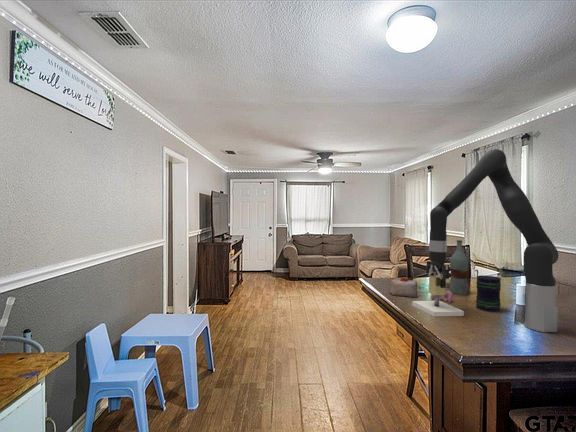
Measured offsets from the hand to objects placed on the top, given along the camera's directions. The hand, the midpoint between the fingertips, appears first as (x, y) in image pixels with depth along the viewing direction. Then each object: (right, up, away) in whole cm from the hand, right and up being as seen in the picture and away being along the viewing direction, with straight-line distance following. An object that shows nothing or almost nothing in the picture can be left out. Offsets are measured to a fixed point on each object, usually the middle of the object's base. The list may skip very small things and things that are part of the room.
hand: (437, 285), depth 152 cm
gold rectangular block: (0, -4, 0) cm, 4 cm away
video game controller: (+11, -12, +18) cm, 24 cm away
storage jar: (+26, -12, +4) cm, 28 cm away
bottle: (+28, -12, +35) cm, 47 cm away
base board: (0, -11, 0) cm, 11 cm away
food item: (-5, -12, +28) cm, 31 cm away
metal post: (0, -9, 0) cm, 9 cm away
